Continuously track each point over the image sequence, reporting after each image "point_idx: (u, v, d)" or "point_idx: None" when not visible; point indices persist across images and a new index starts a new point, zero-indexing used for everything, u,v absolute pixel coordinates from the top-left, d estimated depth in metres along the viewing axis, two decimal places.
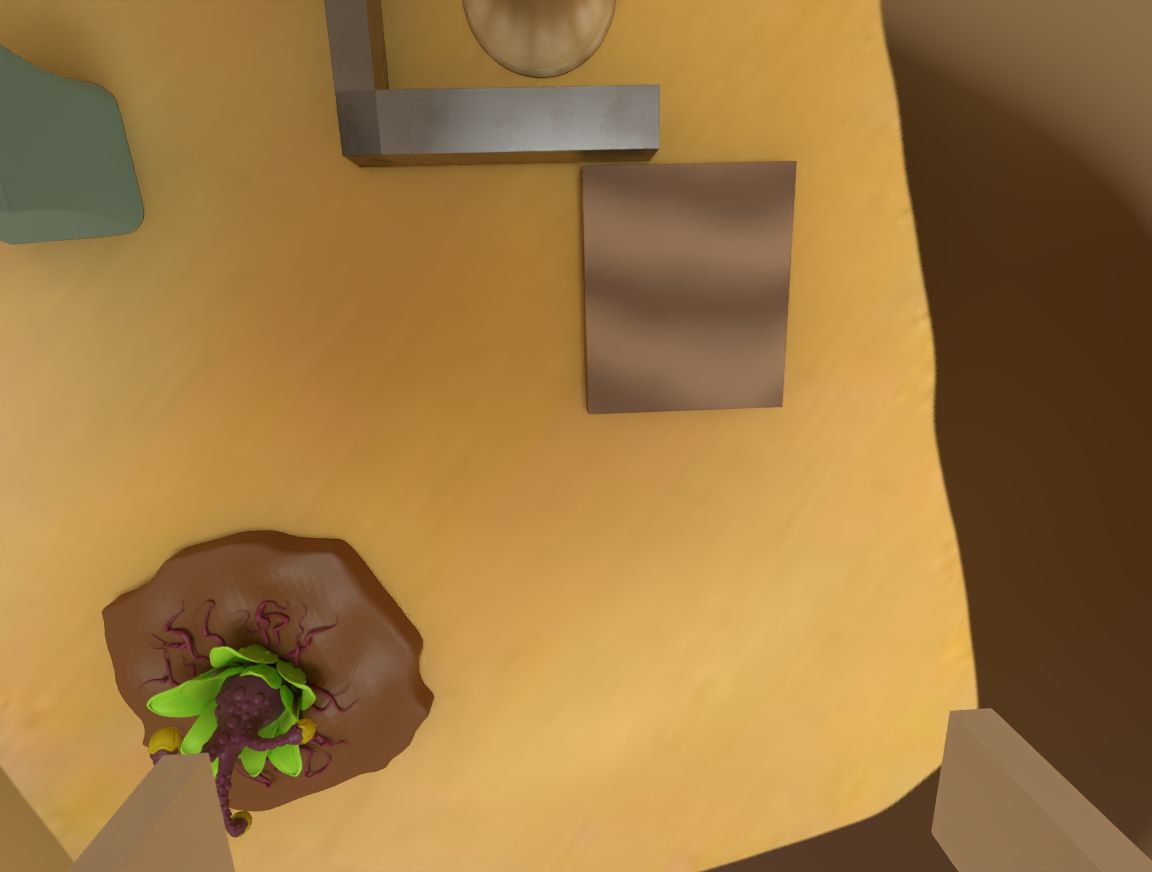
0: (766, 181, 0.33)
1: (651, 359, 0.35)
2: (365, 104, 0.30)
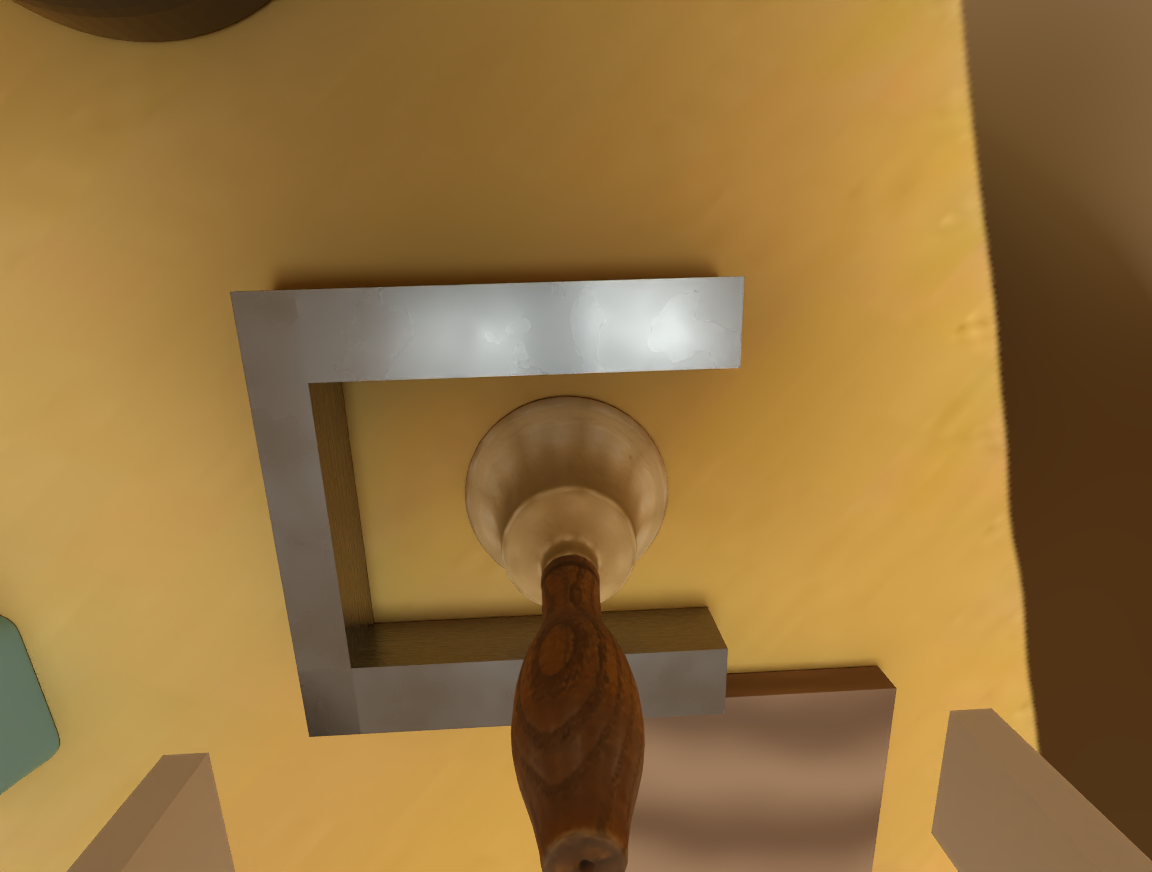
0: (856, 710, 0.25)
1: None
2: (337, 683, 0.22)
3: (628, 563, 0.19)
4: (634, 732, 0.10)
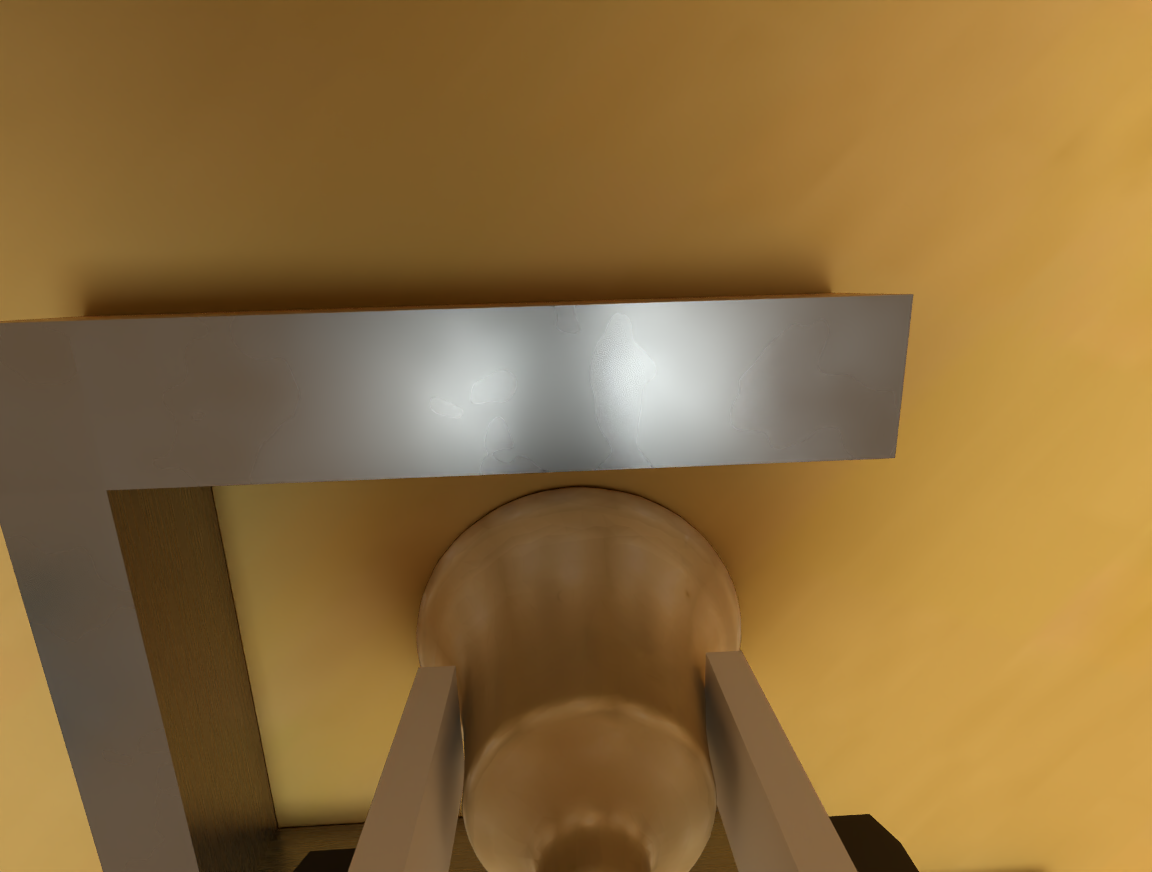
0: None
1: None
2: None
3: (703, 838, 0.10)
4: None
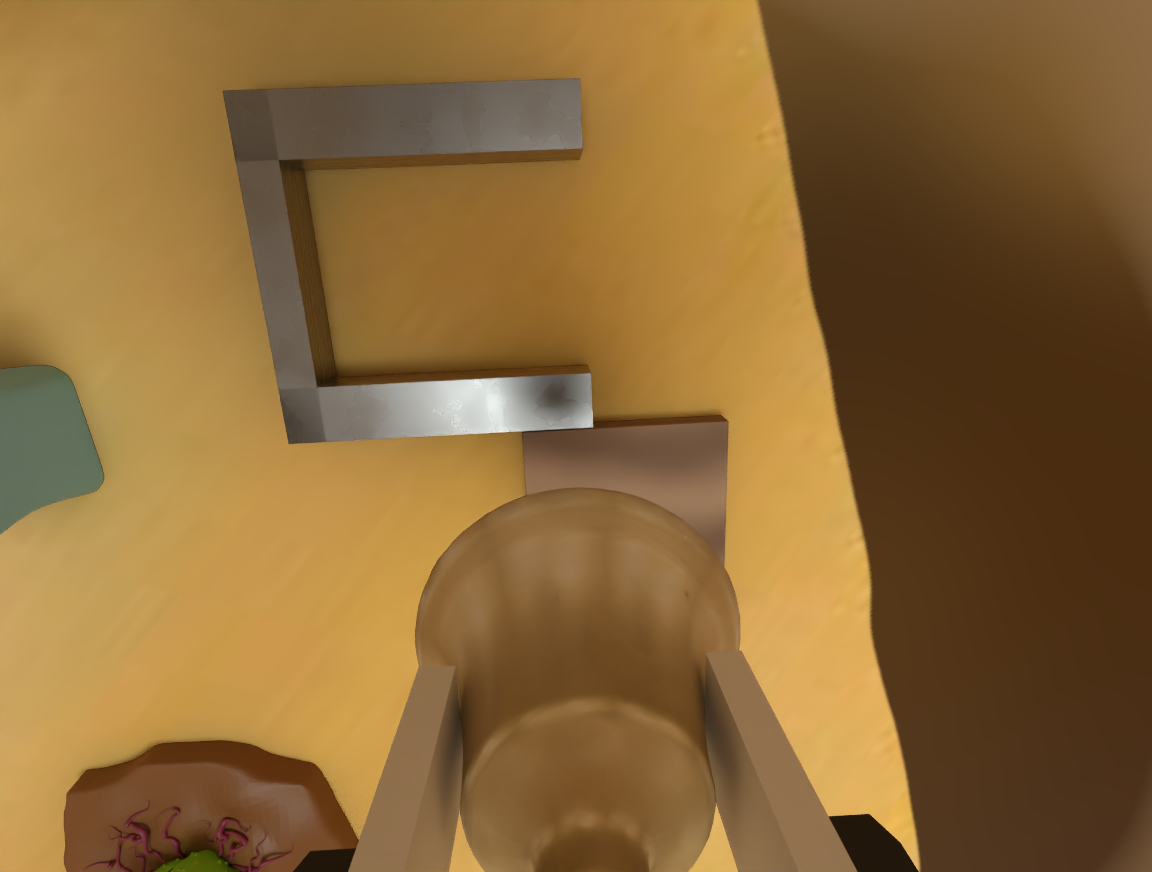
0: (699, 439, 0.34)
1: None
2: (308, 399, 0.31)
3: (702, 839, 0.10)
4: None
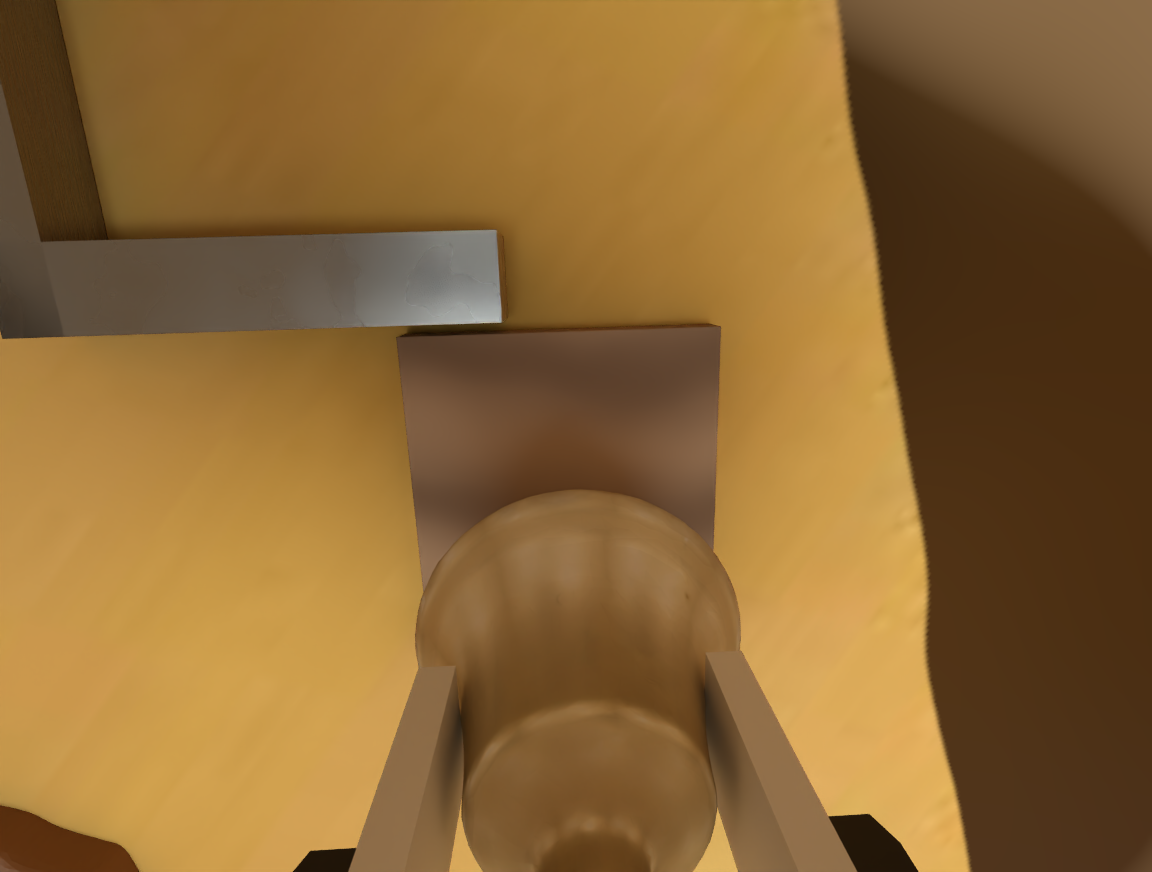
0: (675, 355, 0.22)
1: None
2: (27, 262, 0.19)
3: (703, 842, 0.10)
4: None
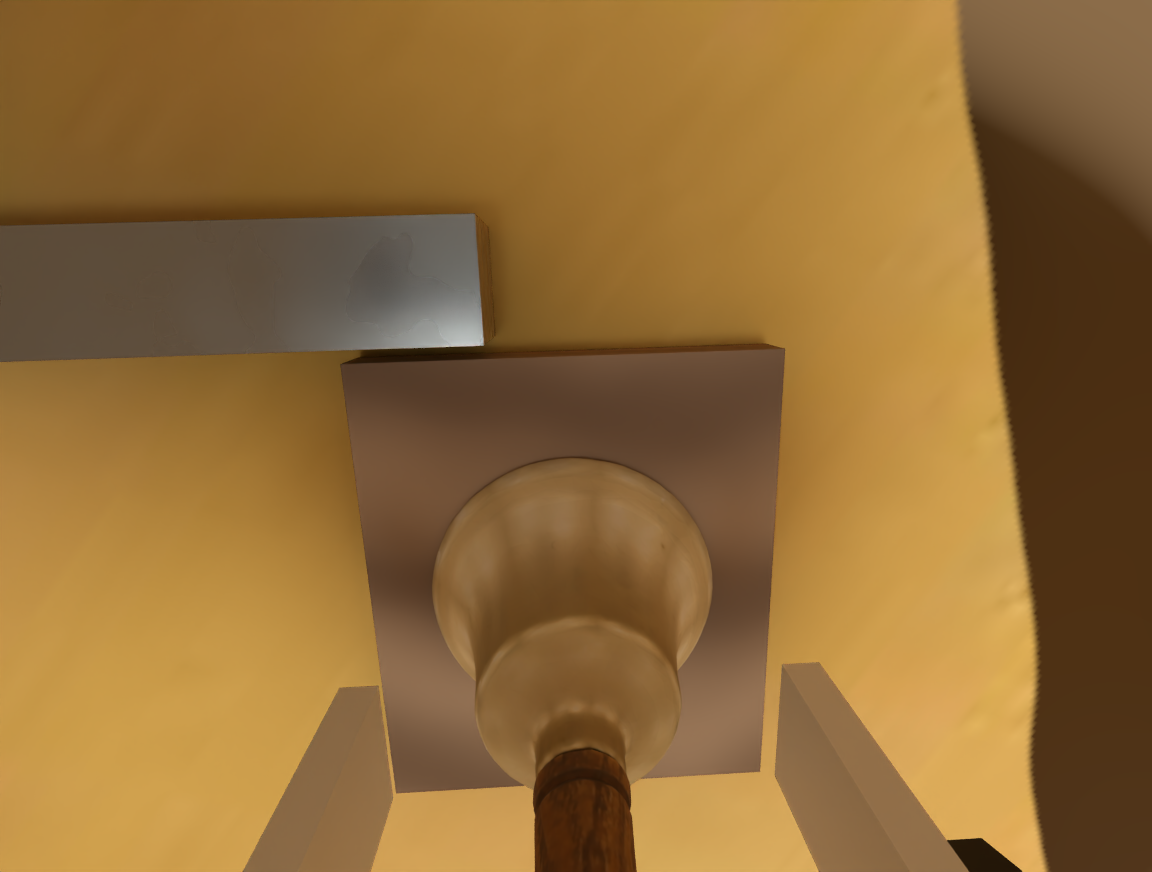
0: (723, 387, 0.16)
1: None
2: None
3: (670, 731, 0.12)
4: None
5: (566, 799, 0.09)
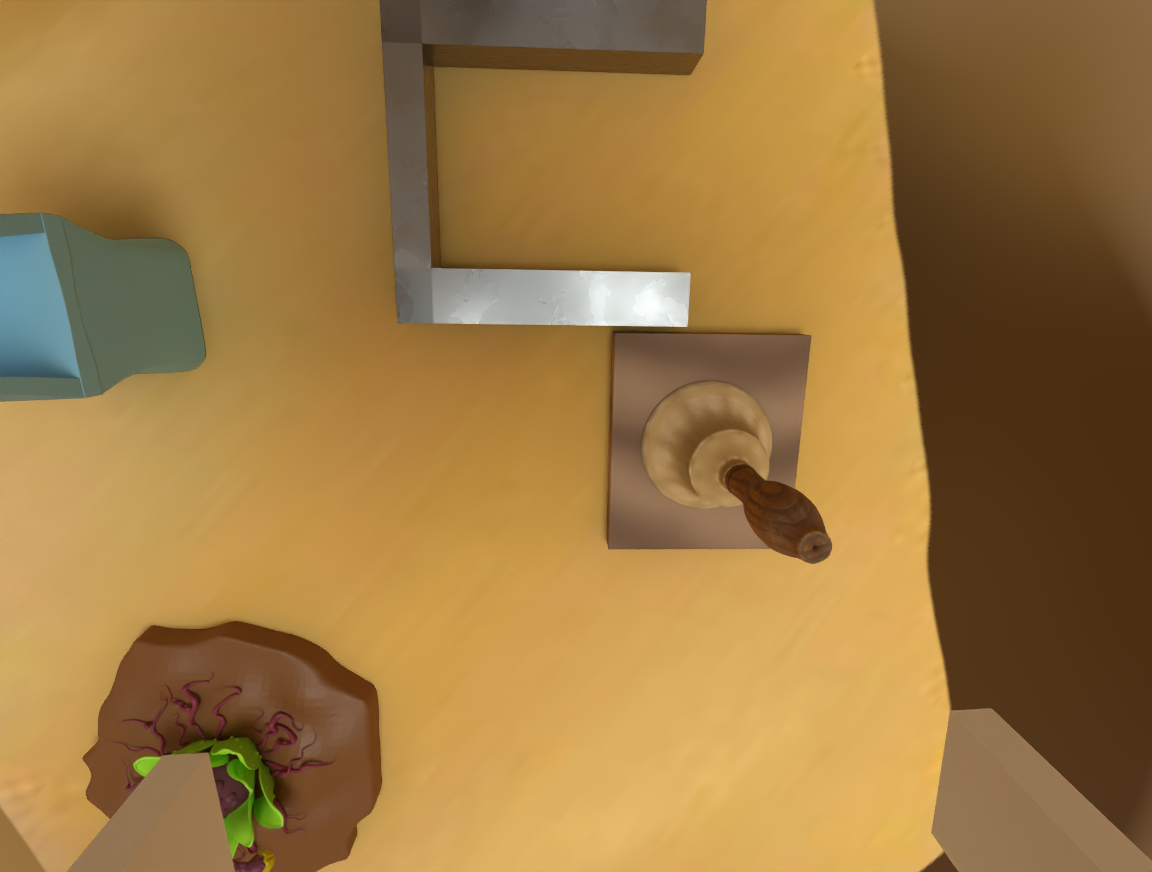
0: (782, 351, 0.36)
1: (669, 502, 0.38)
2: (421, 279, 0.32)
3: (765, 477, 0.32)
4: (819, 514, 0.23)
5: (742, 470, 0.29)
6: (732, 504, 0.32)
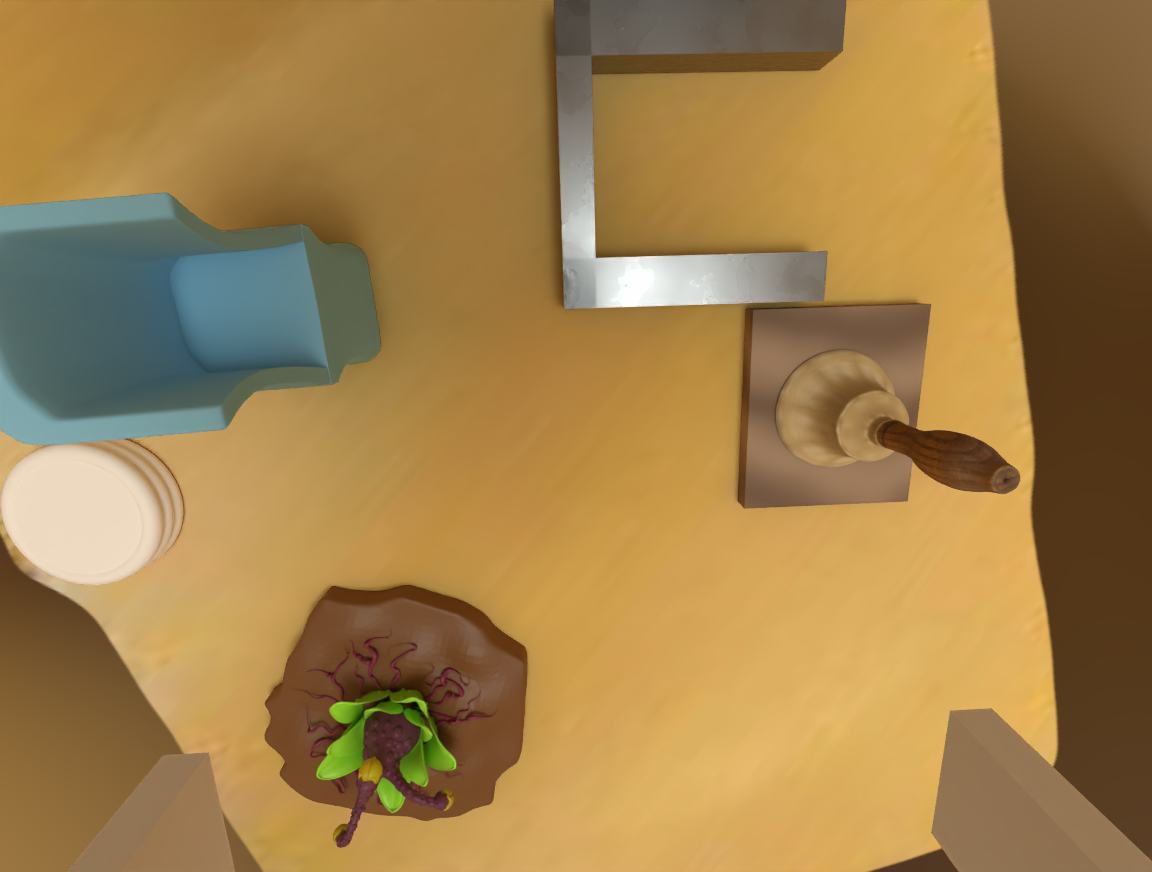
0: (904, 320, 0.39)
1: (799, 463, 0.41)
2: (586, 268, 0.36)
3: None
4: None
5: (897, 425, 0.32)
6: (876, 458, 0.36)
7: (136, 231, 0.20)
